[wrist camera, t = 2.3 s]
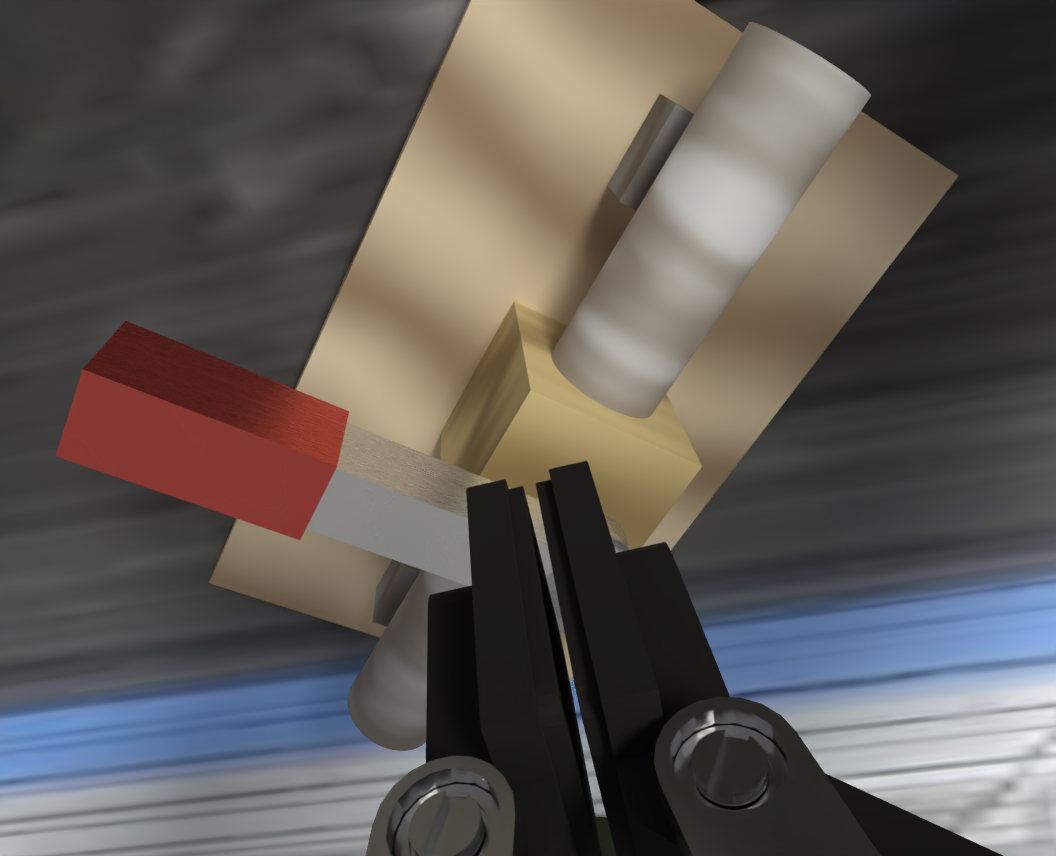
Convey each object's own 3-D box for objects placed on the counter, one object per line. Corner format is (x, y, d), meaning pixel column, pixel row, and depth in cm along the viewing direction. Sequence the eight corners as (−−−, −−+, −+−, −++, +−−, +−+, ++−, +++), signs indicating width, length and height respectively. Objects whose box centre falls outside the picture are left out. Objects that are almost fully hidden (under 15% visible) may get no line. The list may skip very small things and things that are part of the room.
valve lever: (128, 313, 18) (85, 361, 16) (642, 523, 22) (662, 582, 20) (97, 406, 19) (53, 463, 17) (593, 590, 23) (607, 653, 21)
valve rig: (518, -110, 22) (557, -146, 14) (934, 165, 27) (1142, 255, 19) (218, 558, 33) (142, 757, 25) (556, 669, 38) (585, 865, 30)
